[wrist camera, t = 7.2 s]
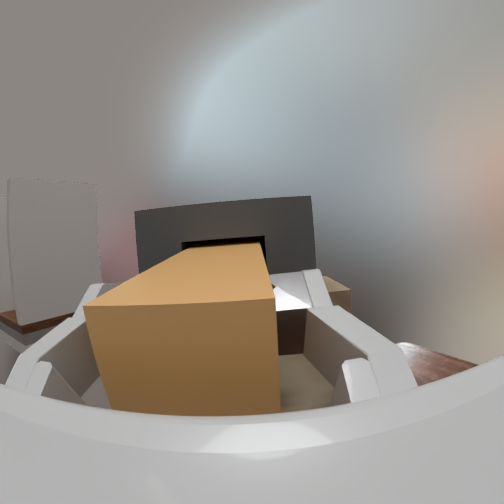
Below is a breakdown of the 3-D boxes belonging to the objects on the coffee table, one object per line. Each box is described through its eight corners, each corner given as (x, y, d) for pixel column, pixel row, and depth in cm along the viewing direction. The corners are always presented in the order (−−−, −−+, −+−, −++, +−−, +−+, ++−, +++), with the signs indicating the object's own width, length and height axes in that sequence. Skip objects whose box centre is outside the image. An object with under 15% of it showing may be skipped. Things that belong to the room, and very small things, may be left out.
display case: (96, 423, 36) (56, 200, 34) (141, 447, 31) (96, 184, 30) (44, 451, 25) (-13, 199, 24) (84, 487, 21) (10, 177, 19)
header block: (142, 304, 16) (134, 211, 16) (174, 284, 23) (168, 218, 23) (317, 293, 16) (310, 195, 16) (298, 276, 23) (293, 208, 23)
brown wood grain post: (184, 531, 17) (113, 304, 16) (193, 493, 23) (146, 288, 22) (330, 526, 17) (350, 289, 16) (320, 488, 23) (325, 276, 22)
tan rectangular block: (115, 419, 6) (82, 305, 5) (206, 280, 22) (202, 240, 21) (281, 423, 6) (275, 297, 5) (260, 277, 22) (257, 236, 21)
